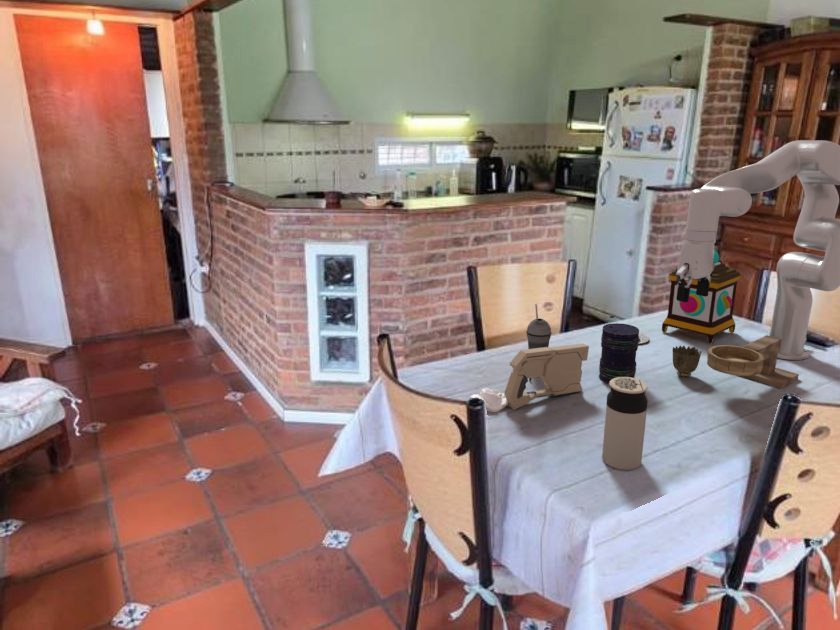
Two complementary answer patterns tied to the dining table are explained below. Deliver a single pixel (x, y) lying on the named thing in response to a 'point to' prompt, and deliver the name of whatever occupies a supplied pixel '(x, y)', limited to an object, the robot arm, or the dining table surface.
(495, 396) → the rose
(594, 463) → the dining table surface
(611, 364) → the storage jar
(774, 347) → the rail cup bracket
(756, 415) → the dining table surface
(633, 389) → the travel mug
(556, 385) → the gun
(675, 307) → the decorative lantern
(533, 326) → the beverage cup
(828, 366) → the dining table surface
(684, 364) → the cup
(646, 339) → the beige low round piece
